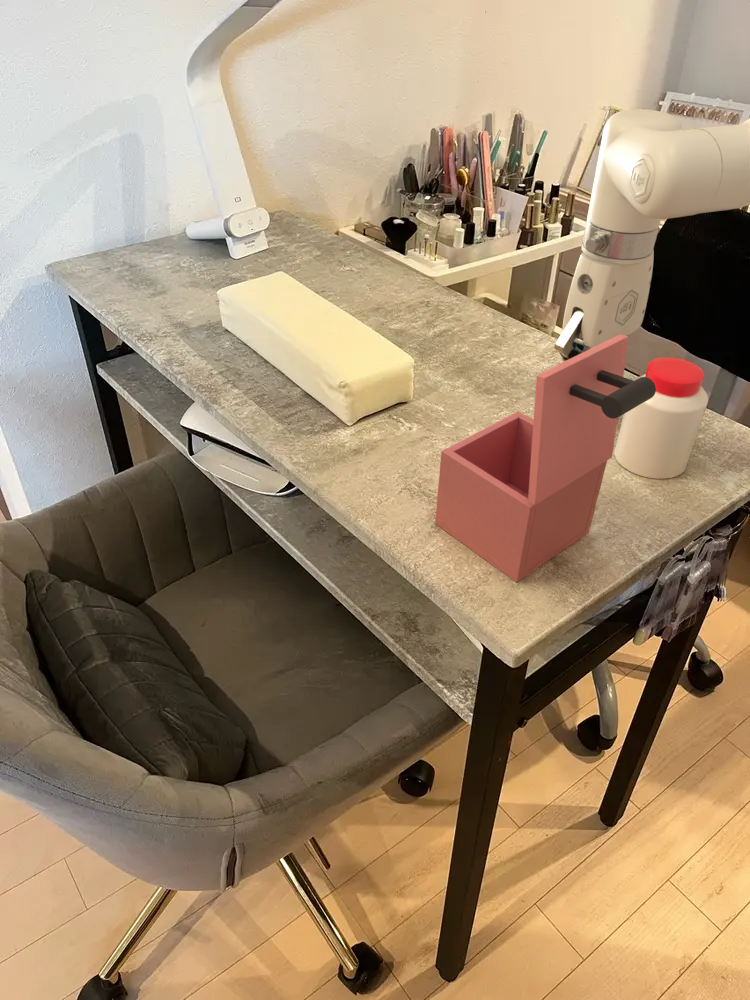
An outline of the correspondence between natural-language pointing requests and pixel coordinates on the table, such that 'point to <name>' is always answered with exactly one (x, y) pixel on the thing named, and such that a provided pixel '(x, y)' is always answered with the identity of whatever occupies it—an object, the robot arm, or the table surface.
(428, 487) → the table surface
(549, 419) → the lid
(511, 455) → the pink box
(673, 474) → the pill bottle
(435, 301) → the table surface
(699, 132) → the robot arm
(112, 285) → the table surface
